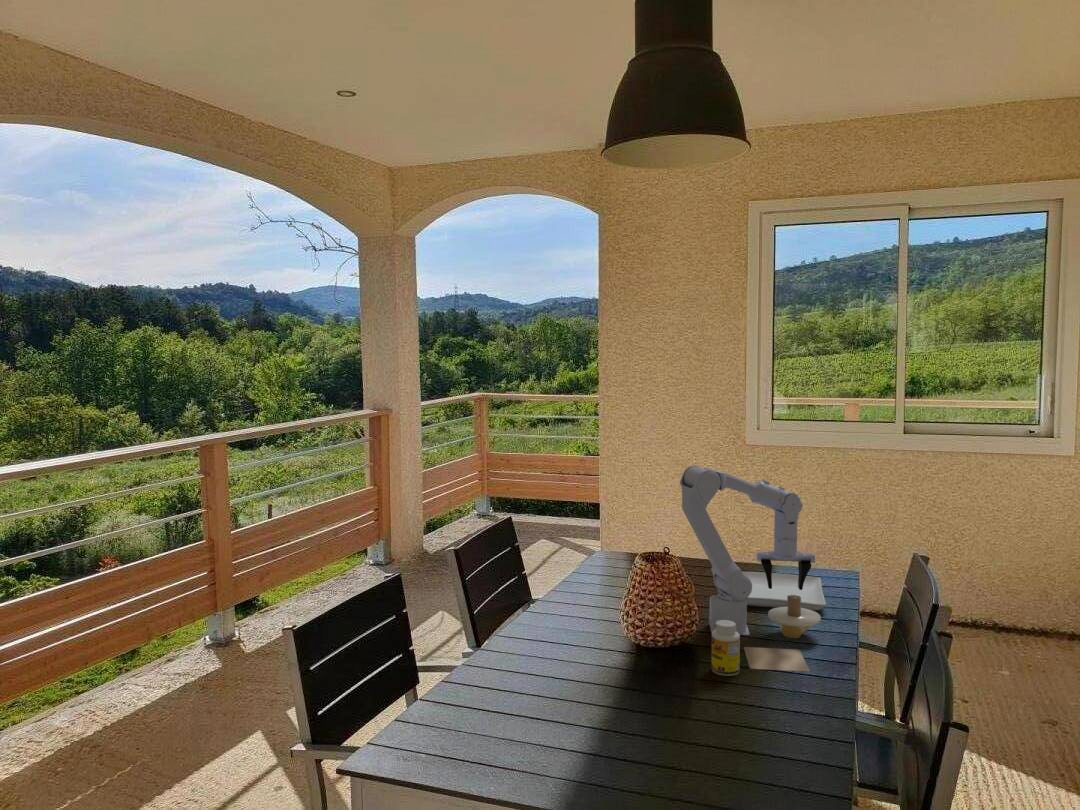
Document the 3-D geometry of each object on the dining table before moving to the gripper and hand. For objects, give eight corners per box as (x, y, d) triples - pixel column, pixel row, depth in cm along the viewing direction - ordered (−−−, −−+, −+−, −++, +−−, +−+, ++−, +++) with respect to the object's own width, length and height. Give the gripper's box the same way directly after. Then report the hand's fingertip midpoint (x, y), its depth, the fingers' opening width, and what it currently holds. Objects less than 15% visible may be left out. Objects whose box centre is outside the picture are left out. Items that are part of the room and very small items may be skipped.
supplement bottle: (706, 668, 174) (706, 619, 173) (730, 665, 175) (730, 617, 175) (720, 679, 168) (720, 629, 167) (745, 676, 170) (745, 626, 169)
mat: (749, 671, 172) (749, 668, 172) (743, 649, 185) (743, 646, 185) (810, 674, 170) (810, 671, 170) (799, 652, 183) (799, 649, 183)
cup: (783, 649, 186) (784, 627, 185) (758, 632, 197) (758, 611, 197) (827, 644, 189) (827, 623, 188) (799, 628, 200) (800, 607, 200)
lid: (770, 625, 187) (770, 603, 187) (766, 608, 200) (766, 588, 199) (824, 627, 185) (824, 606, 184) (816, 610, 197) (816, 590, 197)
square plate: (724, 608, 217) (724, 594, 217) (729, 581, 243) (729, 569, 243) (826, 616, 209) (826, 602, 209) (820, 587, 235) (820, 575, 235)
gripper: (759, 539, 197) (758, 591, 198) (817, 541, 195) (817, 593, 196) (755, 533, 204) (755, 583, 205) (812, 535, 202) (811, 585, 203)
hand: (785, 588), depth 201 cm, fingers open, 7 cm apart
